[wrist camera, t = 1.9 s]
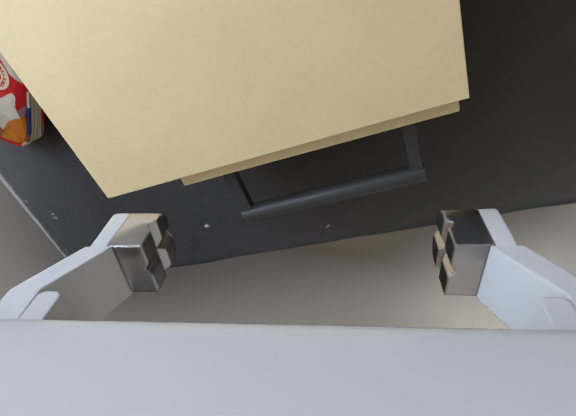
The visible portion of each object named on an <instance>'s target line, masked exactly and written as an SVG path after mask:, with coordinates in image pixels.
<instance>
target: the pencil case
mask: <svg viewBox="0 0 576 416" xmlns="http://www.w3.org/2000/svg"><path fill="white" fill-rule="evenodd" d="M43 133H44V111H43V109H42V108H41V106H40V105H39V104H38V102H37V101H36V100H35V98H34V97H33V96H32V94H31V93H30V92H29V90H28V89H27V88H26V86H25V85H24V83H23V82H22V81H21V79H20V78H19V77H18V75H17V74H16V73H15V71H14V70H13V69H12V67H11V66H10V65H9V63H8V62H7V60H6V59H5V58H4V56H3V55H2V54H1V52H0V138H1V139H2V140H4V141H6V142H8V143H11V144H14V145H16V146H26V145H28V144H29V143H30V142H32V141H34V140H35V139H38V138H40V137H41V136H42V135H43Z"/></svg>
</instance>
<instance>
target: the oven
mask: <svg viewBox="0 0 576 416" xmlns="http://www.w3.org/2000/svg"><path fill="white" fill-rule="evenodd" d="M0 52H1V54H2V55H3V56H4V58H5V59H6V60H7V62H8V63H9V65H10V66H11V67H12V69H13V70H14V71H15V73H16V74H17V75H18V77H19V78H20V79H21V81H22V82H23V83H24V85H25V86H26V88H27V89H28V90H29V92H30V93H31V94H32V96H33V97H34V98H35V100H36V101H37V102H38V104H39V105H40V106H41V108H42V109H43V111H44V112H45V113H46V115H47V116H48V117H49V119H50V120H51V121H52V123H53V124H54V125H55V127H56V128H57V129H58V131H59V132H60V134H61V135H62V136H63V138H64V139H65V140H66V142H67V143H68V144H69V146H70V147H71V148H72V150H73V151H74V152H75V154H76V155H77V157H78V158H79V159H80V161H81V162H82V163H83V165H84V166H85V167H86V169H87V170H88V171H89V173H90V174H91V175H92V177H93V178H94V180H95V181H96V182H97V184H98V185H99V186H100V188H101V189H102V190H103V192H104V193H105V194H106V196H107V197H108V198H111V197H115V196H118V195H122V194H126V193H129V192H133V191H136V190H140V189H144V188H147V187H151V186H154V185H158V184H162V183H165V182H169V181H172V180H176V179H180V178H183V177H187V176H190V175H194V174H197V173H201V172H205V171H208V170H212V169H215V168H219V167H223V166H226V165H230V164H233V163H237V162H241V161H244V160H248V159H251V158H255V157H259V156H262V155H266V154H269V153H273V152H277V151H280V150H284V149H287V148H291V147H294V146H298V145H302V144H305V143H309V142H312V141H316V140H320V139H323V138H327V137H330V136H334V135H338V134H341V133H345V132H348V131H352V130H356V129H359V128H363V127H366V126H370V125H374V124H377V123H381V122H384V121H388V120H392V119H395V118H399V117H402V116H406V115H409V114H413V113H417V112H420V111H424V110H427V109H431V108H435V107H438V106H442V105H445V104H449V103H453V102H456V101H460V100H463V99H467V98H469V88H468V78H467V68H466V58H465V49H464V39H463V29H462V19H461V10H460V0H0Z"/></svg>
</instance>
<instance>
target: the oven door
mask: <svg viewBox="0 0 576 416" xmlns="http://www.w3.org/2000/svg"><path fill="white" fill-rule="evenodd" d="M458 111H460V108H459V101H456V102H453V103H449V104H445V105H442V106H438V107H435V108H431V109H427V110H424V111H420V112H417V113H413V114H409V115H406V116H402V117H399V118H395V119H392V120H388V121H384V122H381V123H377V124H374V125H370V126H366V127H363V128H359V129H356V130H352V131H348V132H345V133H341V134H338V135H334V136H330V137H327V138H323V139H320V140H316V141H312V142H309V143H305V144H302V145H298V146H294V147H291V148H287V149H284V150H280V151H277V152H273V153H269V154H266V155H262V156H259V157H255V158H251V159H248V160H244V161H241V162H237V163H233V164H230V165H226V166H223V167H219V168H215V169H212V170H208V171H205V172H201V173H197V174H194V175H190V176H187V177H183V178H181V180H182V182H183V183H184V185H189V184H192V183H196V182H200V181H203V180H207V179H211V178H214V177H218V176H222V175H223V176H224V178H225V180H226V182H227V184H228V186H229V188H230V189H231V191H232V193H233V195H234V197H235V199H236V201H237V203H238V205H239V207H240V209H241V215H242V218H243V220H244V221H245V222H246V223H248V222H252V221H257V220H261V219H266V218H270V217H274V216H279V215H283V214H287V213H292V212H296V211H300V210H305V209H309V208H313V207H318V206H322V205H326V204H331V203H335V202H339V201H344V200H348V199H352V198H357V197H361V196H365V195H370V194H374V193H378V192H383V191H387V190H391V189H396V188H400V187H404V186H409V185H413V184H417V183H422V182H426V181H427V177H426V172H425V168H424V164H423V162H422V159H421V154H420V149H419V143H418V138H417V133H416V128H415V123H417V122H421V121H424V120H428V119H432V118H435V117H439V116H443V115H446V114H450V113H454V112H458ZM399 127H401V132H402V137H403V141H404V146H405V151H406V155H407V160H408V166H404V167H400V168H396V169H392V170H387V171H383V172H379V173H375V174H371V175H367V176H363V177H359V178H355V179H351V180H346V181H342V182H338V183H334V184H330V185H326V186H322V187H318V188H314V189H310V190H306V191H301V192H297V193H293V194H289V195H285V196H281V197H277V198H273V199H269V200H265V201H260V202H256V203H253V201H252V199H251V197H250V195H249V193H248V191H247V189H246V187H245V185H244V183H243V181H242V179H241V177H240V175H239V173H238V171H240V170H244V169H248V168H251V167H255V166H259V165H262V164H266V163H270V162H273V161H277V160H281V159H284V158H288V157H292V156H295V155H299V154H303V153H306V152H310V151H314V150H318V149H321V148H325V147H329V146H332V145H336V144H340V143H343V142H347V141H351V140H354V139H358V138H362V137H365V136H369V135H373V134H376V133H380V132H384V131H388V130H391V129H395V128H399Z"/></svg>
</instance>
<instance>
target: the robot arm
mask: <svg viewBox="0 0 576 416" xmlns="http://www.w3.org/2000/svg"><path fill="white" fill-rule="evenodd" d="M436 224H437V227H438V231H437V232H436V233H435V234H434V236H433V258H434V262H435V265H436V266H437V267H438V268H439V269H440V275H439V279H440V282H441V285H442V289H443V292H444V295H465V296H467V295H468V296H476V298H478V299H479V300H480V301H481V302H482V303H483V304H484V305H485V306H486V307H487V308H488V309H489V310H490V311H491V312H492V313H494V315H495V316H497V317H498V318H499V319H500V320H501V321H502V322H503V323H504V324H505V325H506V326H507V327H508V328H509V329H471V328H415V327H414V328H413V327H368V326H325V325H323V326H322V325H273V324H270V325H269V324H222V323H172V322H124V321H101V320H102V319H104V318H105V317H106V316H107V315H108V314H109V313H110V312H112V311H113V310H114V309H115V308H116V307H117V306H118V305H120V304H121V303H122V302H123V301H124V300H125V299H126V298H127V297H129V296H130V295H131V294H132V292H158V291H159V290H160V288H161V286H162V284H163V281H164V279H165V277H166V273H165V269H166V268H168V267H169V266H170V265H171V264H172V262H173V259H174V255H175V242H174V239H173V236H172V235H171V234H170V233H169V232H168V231H166V229H167V227H168V225H169V223H168V221H167V218H166V216H165V215H163V214H115V215H113V217H112V218H111V219H110V221H109V222H108V223H107V225H106V226H105V227H104V229H103V230H102V231H101V233H100V234H99V236H98V237H97V238H96V240H95V241H94V242H93V244H92V245H91V246H90V247H85V248H83V249H81V250H79V251H77V252H76V253H74V254H72V255H70V256H69V257H67V258H65V259H63V260H62V261H60V262H58V263H56V264H55V265H53V266H51V267H49V268H48V269H46V270H44V271H42V272H40V273H39V274H37V275H35V276H33V277H32V278H30V279H28V280H26V281H24V282H23V283H21V284H19V285H17V286H16V287H14V288H12V289H11V290H9V291H8V293H7V294H6V295H5V296H4V297H3V299H2V300H1V301H0V416H576V276H575V275H573V274H571V273H570V272H568V271H566V270H564V269H563V268H561V267H559V266H558V265H556V264H554V263H552V262H551V261H549V260H547V259H546V258H544V257H542V256H541V255H539V254H537V253H535V252H534V251H532V250H530V249H529V248H527V247H525V246H518V244H517V243H516V241H515V239H514V237H513V236H512V234H511V232H510V231H509V229H508V227H507V225H506V224H505V222H504V220H503V218H502V217H501V215H500V213H499V212H498V210H496V209H476V210H441V211H439V212H438V214H437V219H436Z"/></svg>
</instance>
